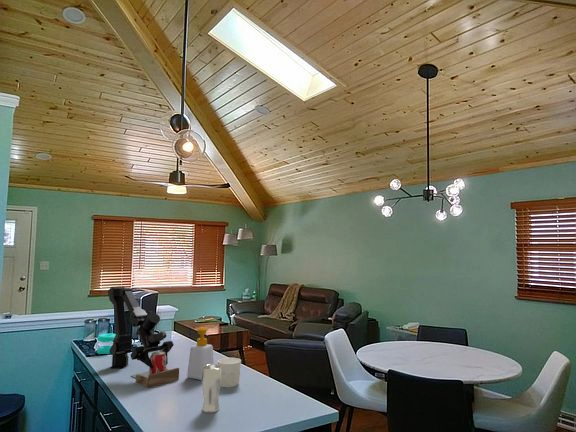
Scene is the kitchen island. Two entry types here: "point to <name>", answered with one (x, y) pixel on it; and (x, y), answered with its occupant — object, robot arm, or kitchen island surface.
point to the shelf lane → (158, 378)
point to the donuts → (105, 338)
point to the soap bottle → (200, 355)
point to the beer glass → (211, 387)
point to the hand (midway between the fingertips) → (159, 366)
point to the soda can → (158, 362)
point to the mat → (141, 374)
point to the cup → (229, 371)
